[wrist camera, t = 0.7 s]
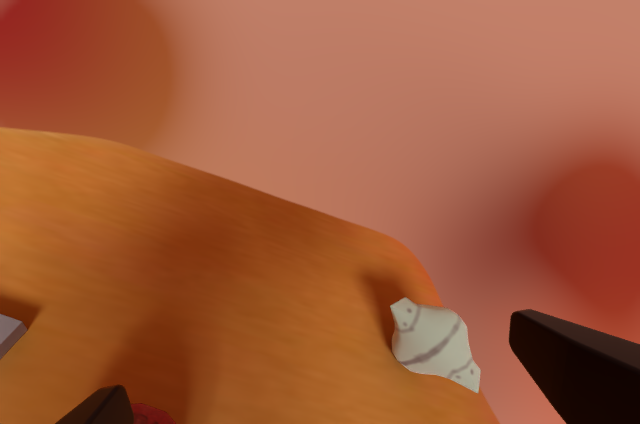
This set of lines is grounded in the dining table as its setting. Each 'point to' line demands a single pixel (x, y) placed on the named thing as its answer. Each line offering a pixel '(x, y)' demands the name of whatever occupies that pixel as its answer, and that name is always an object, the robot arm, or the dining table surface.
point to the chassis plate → (9, 333)
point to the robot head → (433, 342)
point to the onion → (150, 415)
